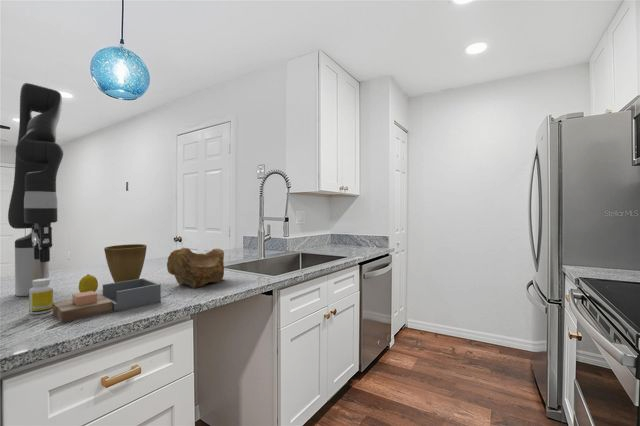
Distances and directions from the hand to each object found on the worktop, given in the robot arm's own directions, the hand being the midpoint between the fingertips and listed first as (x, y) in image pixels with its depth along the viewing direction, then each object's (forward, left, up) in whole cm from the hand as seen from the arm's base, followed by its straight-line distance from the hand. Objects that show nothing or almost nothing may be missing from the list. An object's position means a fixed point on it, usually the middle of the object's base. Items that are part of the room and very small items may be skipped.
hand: (41, 260), depth 94 cm
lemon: (-9, +14, -16) cm, 23 cm away
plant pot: (-18, +29, -16) cm, 38 cm away
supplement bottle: (0, 0, -16) cm, 16 cm away
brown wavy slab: (+10, +8, -16) cm, 20 cm away
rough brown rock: (+4, +49, -16) cm, 52 cm away
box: (+10, +21, -16) cm, 28 cm away
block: (+10, +8, -13) cm, 18 cm away
